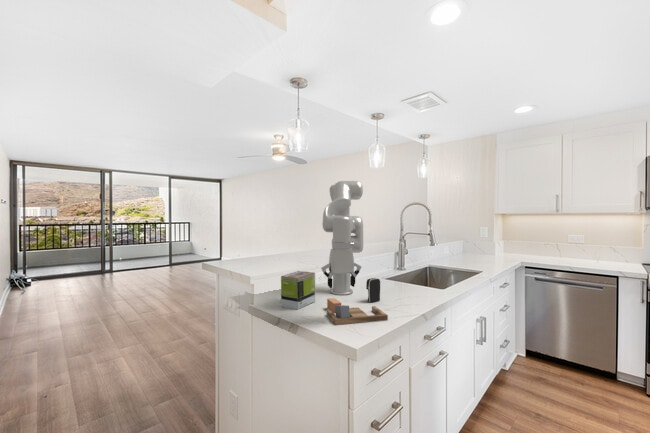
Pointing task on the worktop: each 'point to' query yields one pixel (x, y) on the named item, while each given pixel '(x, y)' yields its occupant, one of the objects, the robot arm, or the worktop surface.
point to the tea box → (297, 289)
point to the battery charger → (373, 289)
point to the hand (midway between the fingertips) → (341, 286)
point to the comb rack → (358, 316)
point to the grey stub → (342, 311)
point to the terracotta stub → (332, 304)
